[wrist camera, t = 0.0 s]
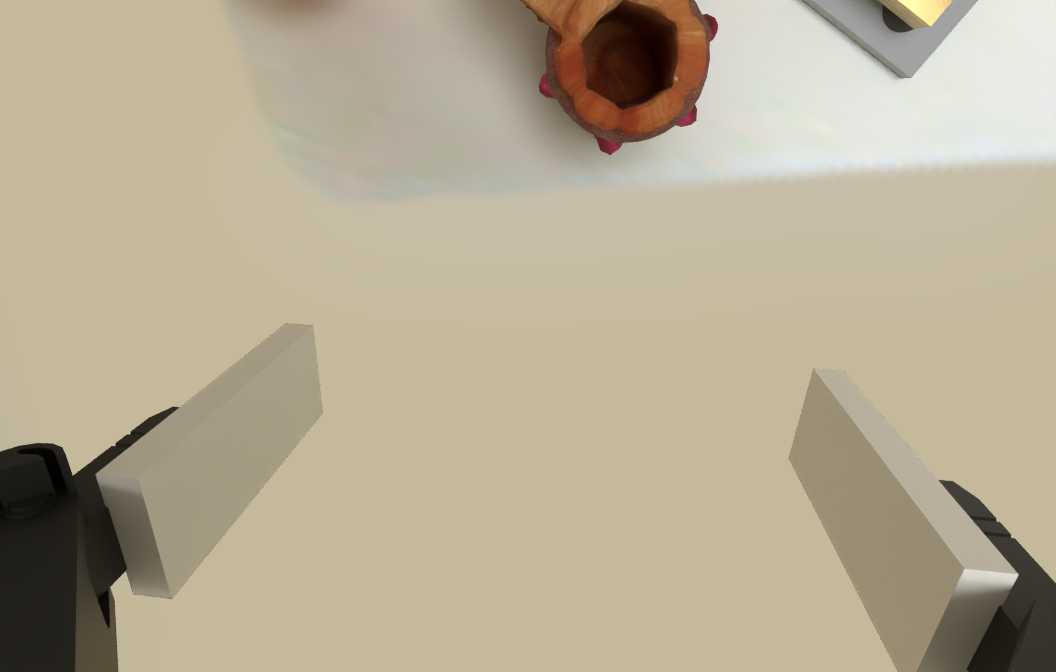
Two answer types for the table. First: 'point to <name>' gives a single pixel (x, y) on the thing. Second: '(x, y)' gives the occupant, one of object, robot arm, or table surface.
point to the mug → (625, 64)
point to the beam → (917, 11)
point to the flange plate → (891, 30)
